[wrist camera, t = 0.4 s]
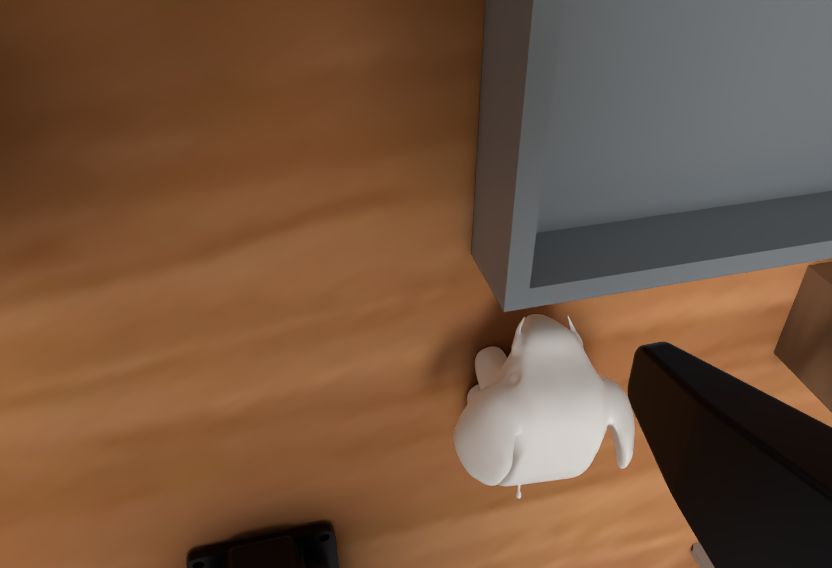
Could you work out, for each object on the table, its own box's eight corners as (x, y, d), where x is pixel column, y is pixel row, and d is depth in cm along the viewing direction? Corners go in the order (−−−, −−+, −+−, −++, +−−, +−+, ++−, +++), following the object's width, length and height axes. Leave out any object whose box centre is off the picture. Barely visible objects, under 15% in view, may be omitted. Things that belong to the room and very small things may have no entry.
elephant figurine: (605, 278, 28) (688, 383, 24) (557, 422, 33) (618, 533, 28) (441, 287, 26) (496, 401, 22) (415, 437, 31) (455, 559, 26)
